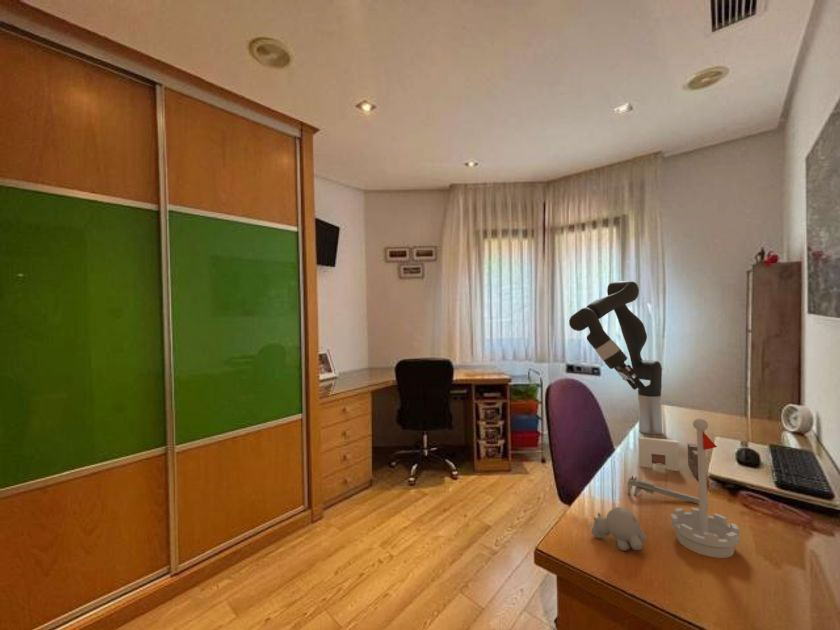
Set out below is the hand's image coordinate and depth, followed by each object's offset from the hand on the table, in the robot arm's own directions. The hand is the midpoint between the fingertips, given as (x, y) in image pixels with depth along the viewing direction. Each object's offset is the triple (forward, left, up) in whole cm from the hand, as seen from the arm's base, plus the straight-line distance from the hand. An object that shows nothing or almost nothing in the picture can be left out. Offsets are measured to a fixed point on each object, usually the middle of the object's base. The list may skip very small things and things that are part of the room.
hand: (640, 389), depth 141 cm
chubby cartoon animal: (+59, -10, -27) cm, 66 cm away
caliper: (+29, +4, -28) cm, 41 cm away
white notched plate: (+3, +5, -27) cm, 28 cm away
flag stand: (+51, +9, -27) cm, 59 cm away
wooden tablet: (-13, +7, -28) cm, 32 cm away
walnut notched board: (+3, +16, -27) cm, 32 cm away
